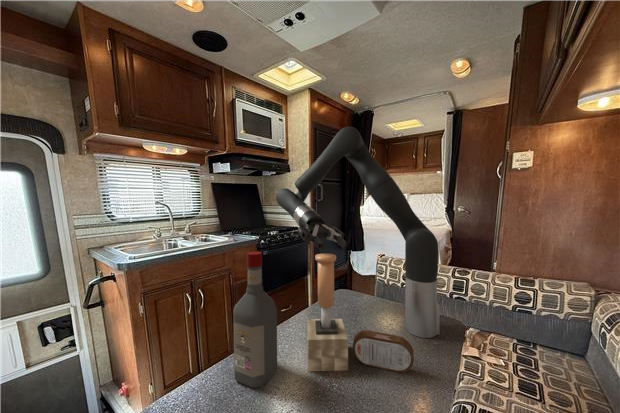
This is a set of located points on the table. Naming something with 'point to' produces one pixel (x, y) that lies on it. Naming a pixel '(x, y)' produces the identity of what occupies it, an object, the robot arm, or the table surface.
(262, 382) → the liquor
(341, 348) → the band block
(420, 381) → the table surface
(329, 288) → the flanged tan peg
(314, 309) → the table surface
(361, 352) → the tin
